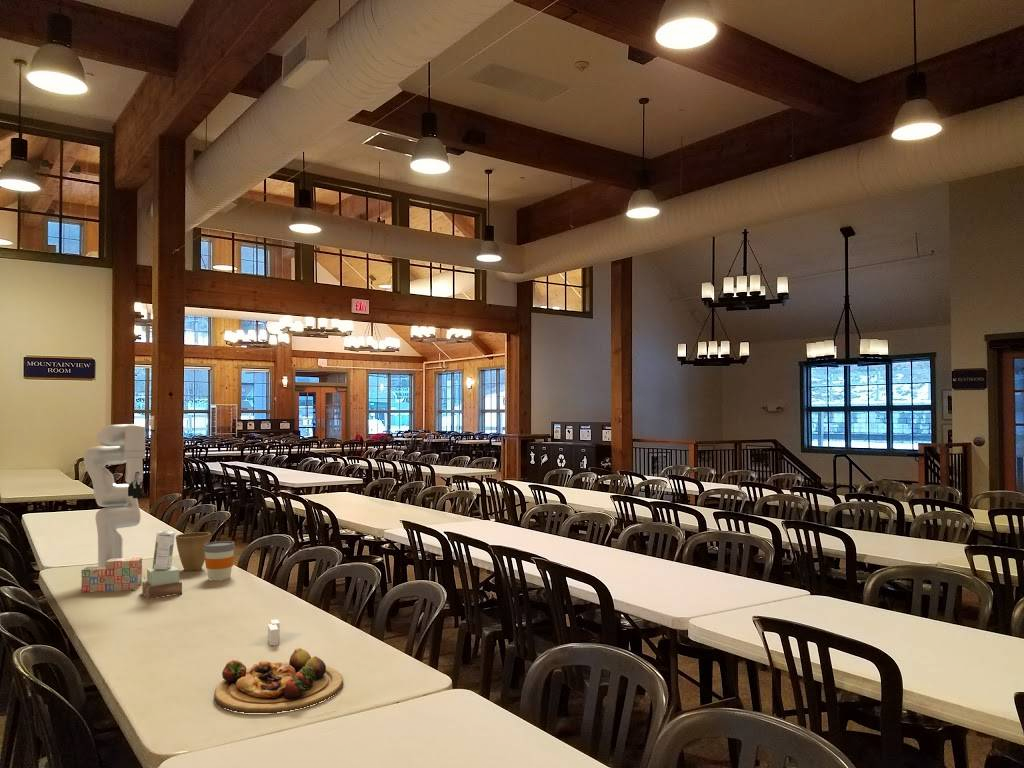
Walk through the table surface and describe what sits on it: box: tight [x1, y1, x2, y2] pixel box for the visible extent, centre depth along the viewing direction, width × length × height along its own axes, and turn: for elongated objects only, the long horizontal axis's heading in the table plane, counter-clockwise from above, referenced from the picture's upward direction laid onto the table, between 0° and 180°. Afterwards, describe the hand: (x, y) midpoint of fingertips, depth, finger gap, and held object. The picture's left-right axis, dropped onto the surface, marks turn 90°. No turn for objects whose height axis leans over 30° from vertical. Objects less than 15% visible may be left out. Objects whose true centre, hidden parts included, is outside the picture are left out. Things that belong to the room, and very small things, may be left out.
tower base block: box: [141, 580, 183, 600], centre depth 298 cm, size 12×12×5 cm
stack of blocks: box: [80, 557, 143, 593], centre depth 306 cm, size 21×6×12 cm, turn 101°
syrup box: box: [151, 530, 176, 570], centre depth 299 cm, size 6×6×14 cm
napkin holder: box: [267, 618, 281, 646], centre depth 236 cm, size 15×11×6 cm
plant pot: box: [175, 531, 211, 572], centre depth 343 cm, size 15×15×16 cm
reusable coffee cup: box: [204, 540, 236, 581], centre depth 324 cm, size 13×13×15 cm
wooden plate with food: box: [213, 647, 344, 713], centre depth 193 cm, size 32×32×8 cm
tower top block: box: [146, 565, 180, 586], centre depth 298 cm, size 10×10×5 cm
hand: (134, 497), depth 303 cm, fingers open, 9 cm apart
